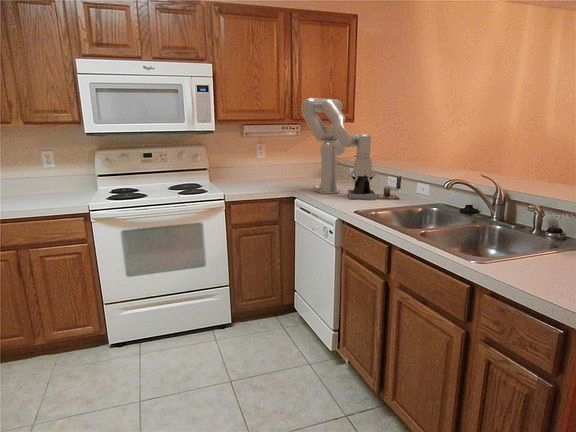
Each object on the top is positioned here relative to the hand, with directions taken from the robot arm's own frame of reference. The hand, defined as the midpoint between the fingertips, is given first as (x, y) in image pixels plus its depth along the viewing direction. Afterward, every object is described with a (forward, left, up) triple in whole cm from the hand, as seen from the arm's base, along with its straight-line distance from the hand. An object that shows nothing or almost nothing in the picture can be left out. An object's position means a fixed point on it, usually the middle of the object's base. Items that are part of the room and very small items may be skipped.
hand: (361, 187), depth 227 cm
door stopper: (0, 0, -4) cm, 4 cm away
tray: (0, 0, -6) cm, 6 cm away
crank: (+17, -1, -4) cm, 18 cm away
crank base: (+14, 0, -6) cm, 16 cm away
